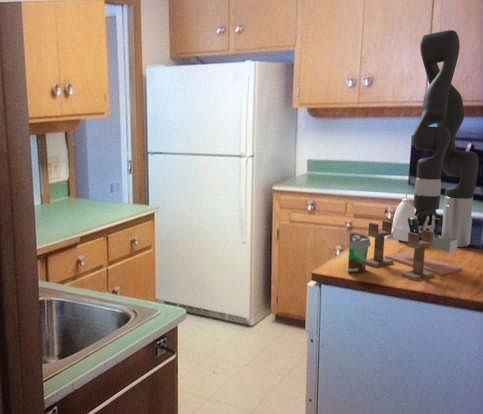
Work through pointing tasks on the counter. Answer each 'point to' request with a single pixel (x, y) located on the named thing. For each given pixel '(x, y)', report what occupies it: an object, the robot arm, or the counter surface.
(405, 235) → the steel rail
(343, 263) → the counter surface
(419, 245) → the cradle stands
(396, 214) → the sauce bottle
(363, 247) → the food container
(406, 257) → the rust mat
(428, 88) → the robot arm
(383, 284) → the counter surface
